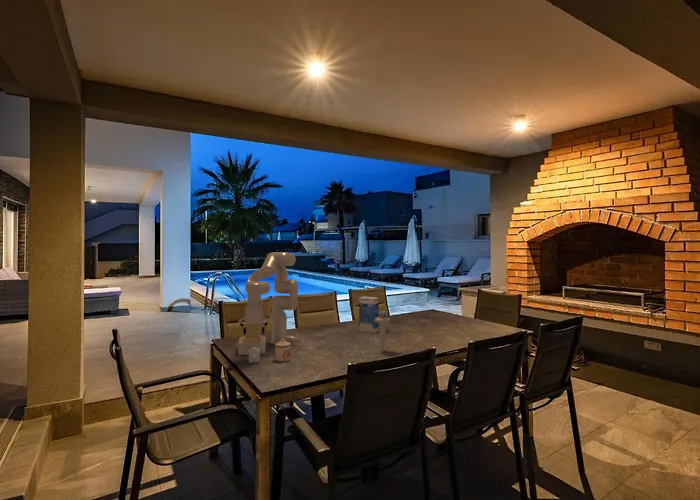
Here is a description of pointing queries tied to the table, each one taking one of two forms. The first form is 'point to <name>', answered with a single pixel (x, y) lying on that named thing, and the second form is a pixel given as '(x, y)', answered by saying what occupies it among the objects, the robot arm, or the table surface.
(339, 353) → the table surface
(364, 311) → the string lights box
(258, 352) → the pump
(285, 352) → the teacup with lid
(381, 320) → the novelty light stick
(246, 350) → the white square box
